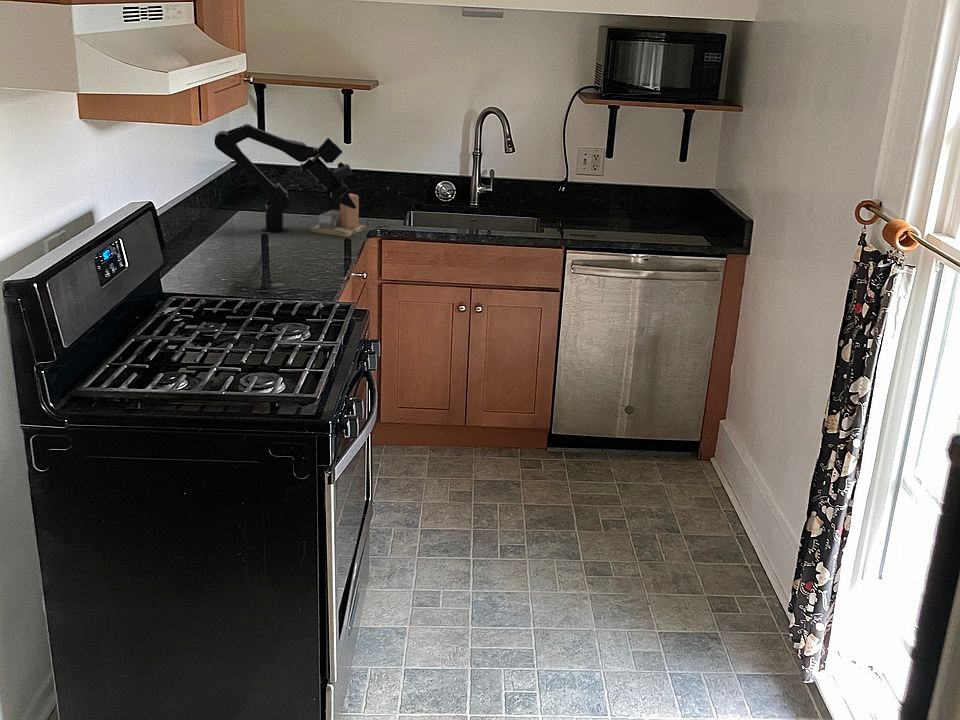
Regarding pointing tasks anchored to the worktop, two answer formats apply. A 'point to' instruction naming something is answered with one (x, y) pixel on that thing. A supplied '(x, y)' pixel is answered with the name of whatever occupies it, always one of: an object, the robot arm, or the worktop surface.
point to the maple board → (338, 230)
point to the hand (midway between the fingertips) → (353, 205)
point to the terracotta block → (350, 213)
